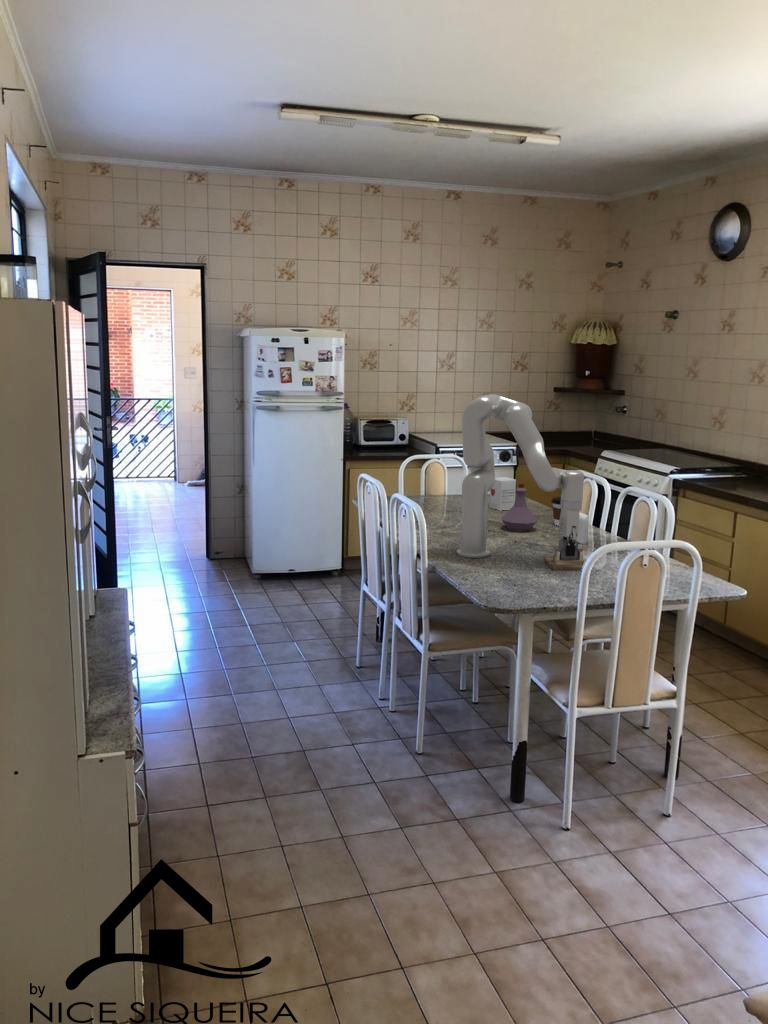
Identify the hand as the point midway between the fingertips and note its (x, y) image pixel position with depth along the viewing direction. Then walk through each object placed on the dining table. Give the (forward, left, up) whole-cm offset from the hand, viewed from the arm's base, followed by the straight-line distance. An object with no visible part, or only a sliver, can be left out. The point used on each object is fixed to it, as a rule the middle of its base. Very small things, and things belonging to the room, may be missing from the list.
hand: (567, 553), depth 296 cm
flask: (-57, -5, -5) cm, 57 cm away
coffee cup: (-64, +16, -5) cm, 66 cm away
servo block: (0, 0, -3) cm, 3 cm away
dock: (0, 0, -4) cm, 4 cm away
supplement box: (-99, -4, -5) cm, 99 cm away
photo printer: (-35, +13, -5) cm, 38 cm away
